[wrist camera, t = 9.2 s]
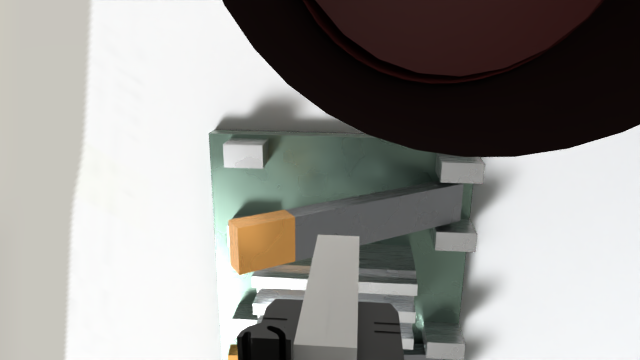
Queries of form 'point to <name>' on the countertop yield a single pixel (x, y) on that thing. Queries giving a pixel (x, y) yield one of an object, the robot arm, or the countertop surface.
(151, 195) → the countertop surface
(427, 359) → the lever
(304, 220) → the lever
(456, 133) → the wineglass
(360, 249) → the circuit board
